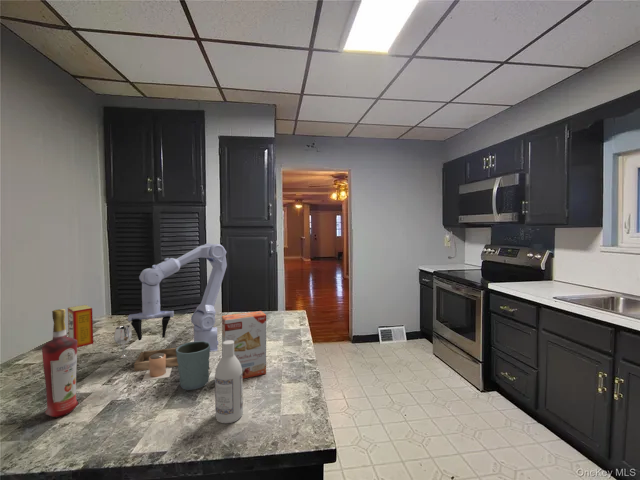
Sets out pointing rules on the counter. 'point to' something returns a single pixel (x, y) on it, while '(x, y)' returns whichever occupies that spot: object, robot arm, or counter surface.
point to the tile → (147, 377)
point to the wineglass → (122, 336)
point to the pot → (157, 365)
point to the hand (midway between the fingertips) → (152, 338)
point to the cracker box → (247, 340)
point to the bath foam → (228, 386)
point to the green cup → (193, 364)
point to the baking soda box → (80, 324)
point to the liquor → (60, 368)
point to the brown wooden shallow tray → (143, 358)
